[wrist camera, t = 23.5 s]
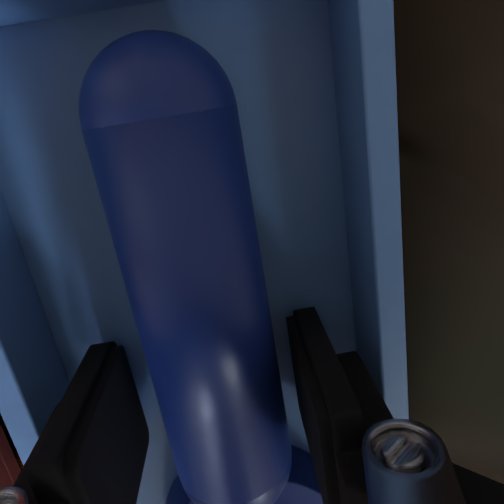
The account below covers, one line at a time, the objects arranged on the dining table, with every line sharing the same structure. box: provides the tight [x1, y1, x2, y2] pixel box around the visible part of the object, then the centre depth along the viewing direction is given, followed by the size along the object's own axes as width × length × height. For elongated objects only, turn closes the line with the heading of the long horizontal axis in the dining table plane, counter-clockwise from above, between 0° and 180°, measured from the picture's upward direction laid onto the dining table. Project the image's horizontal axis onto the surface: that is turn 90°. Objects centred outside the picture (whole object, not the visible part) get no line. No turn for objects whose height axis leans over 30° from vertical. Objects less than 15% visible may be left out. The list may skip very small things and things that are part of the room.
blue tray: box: [0, 0, 409, 504], centre depth 11 cm, size 9×18×2 cm, turn 9°
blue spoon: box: [79, 30, 323, 504], centre depth 10 cm, size 16×5×3 cm, turn 9°
